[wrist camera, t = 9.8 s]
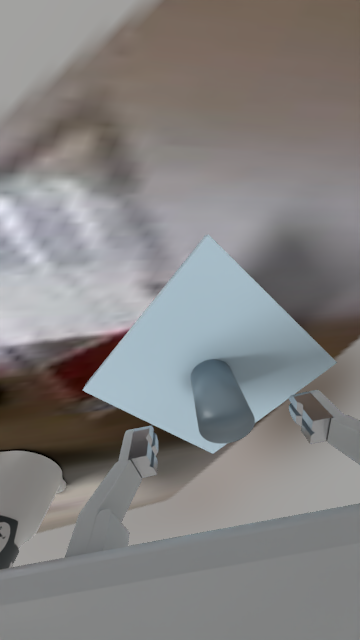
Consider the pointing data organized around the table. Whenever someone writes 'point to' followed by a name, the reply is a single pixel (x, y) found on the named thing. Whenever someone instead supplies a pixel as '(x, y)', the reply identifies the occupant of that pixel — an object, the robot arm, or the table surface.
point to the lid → (209, 354)
